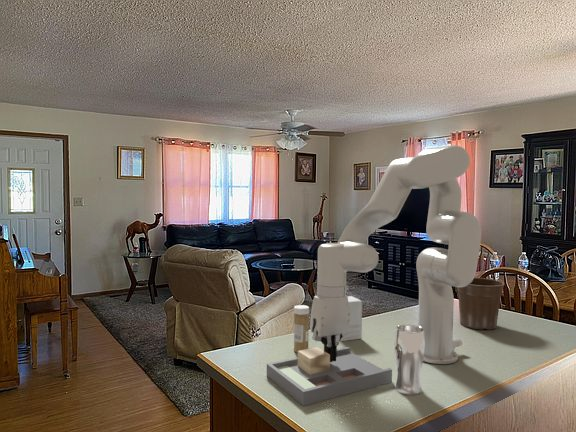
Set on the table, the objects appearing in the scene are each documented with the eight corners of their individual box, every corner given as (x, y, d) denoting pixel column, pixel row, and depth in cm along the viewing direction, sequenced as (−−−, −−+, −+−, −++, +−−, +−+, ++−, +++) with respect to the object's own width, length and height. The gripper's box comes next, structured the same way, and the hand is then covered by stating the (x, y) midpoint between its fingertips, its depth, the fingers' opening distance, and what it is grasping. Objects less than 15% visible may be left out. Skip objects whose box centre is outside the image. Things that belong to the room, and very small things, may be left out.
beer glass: (389, 383, 107) (391, 324, 106) (417, 383, 108) (418, 323, 107) (399, 396, 100) (400, 333, 100) (428, 396, 101) (430, 332, 100)
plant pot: (460, 316, 168) (461, 275, 167) (506, 323, 158) (508, 280, 158) (448, 326, 155) (449, 281, 154) (498, 335, 145) (499, 287, 144)
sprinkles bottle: (311, 351, 128) (312, 307, 128) (299, 354, 126) (299, 309, 125) (302, 347, 132) (303, 303, 131) (290, 350, 130) (290, 305, 129)
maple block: (316, 361, 116) (317, 347, 115) (329, 369, 110) (329, 354, 110) (297, 365, 113) (297, 350, 112) (309, 374, 107) (310, 358, 107)
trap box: (347, 357, 124) (348, 346, 124) (391, 381, 108) (392, 369, 108) (266, 375, 111) (266, 363, 111) (303, 406, 95) (303, 391, 95)
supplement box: (351, 332, 147) (352, 295, 146) (362, 339, 140) (362, 300, 139) (331, 334, 145) (332, 297, 144) (341, 341, 138) (341, 302, 137)
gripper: (345, 285, 120) (344, 350, 121) (299, 290, 113) (298, 360, 114) (363, 291, 114) (361, 359, 114) (315, 297, 106) (314, 370, 107)
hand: (330, 359), depth 114 cm, fingers closed
